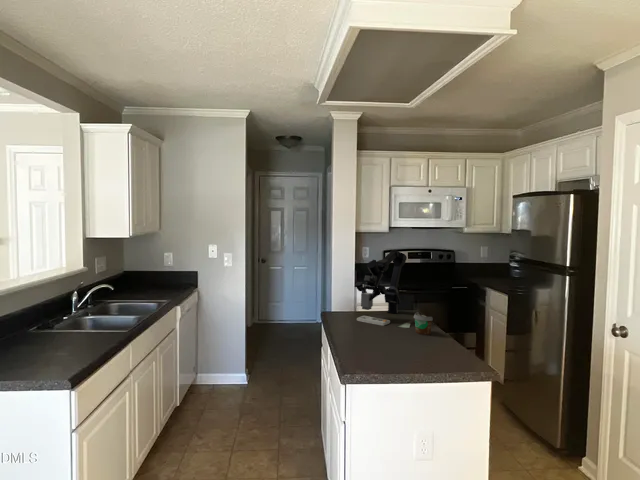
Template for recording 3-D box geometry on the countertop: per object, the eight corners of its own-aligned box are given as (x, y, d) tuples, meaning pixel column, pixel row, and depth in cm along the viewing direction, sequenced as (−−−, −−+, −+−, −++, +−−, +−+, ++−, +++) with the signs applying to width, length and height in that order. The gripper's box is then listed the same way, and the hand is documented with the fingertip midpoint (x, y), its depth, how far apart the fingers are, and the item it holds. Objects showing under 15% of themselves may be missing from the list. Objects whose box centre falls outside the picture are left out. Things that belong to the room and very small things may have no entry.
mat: (394, 323, 258) (394, 322, 258) (410, 324, 256) (410, 323, 256) (392, 326, 250) (392, 326, 250) (409, 328, 247) (409, 327, 247)
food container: (408, 330, 242) (409, 312, 241) (417, 329, 244) (418, 311, 244) (422, 336, 231) (423, 317, 230) (432, 335, 233) (432, 316, 233)
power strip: (356, 322, 259) (356, 317, 258) (363, 319, 265) (364, 314, 265) (383, 327, 248) (383, 321, 248) (389, 324, 255) (390, 319, 254)
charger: (365, 307, 262) (365, 292, 262) (372, 308, 259) (373, 293, 259) (360, 308, 258) (361, 293, 258) (368, 310, 255) (368, 294, 255)
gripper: (357, 268, 266) (347, 289, 258) (385, 271, 255) (375, 293, 247) (363, 280, 273) (354, 300, 265) (391, 283, 262) (381, 305, 254)
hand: (365, 299), depth 257 cm, fingers closed on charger, 5 cm apart
